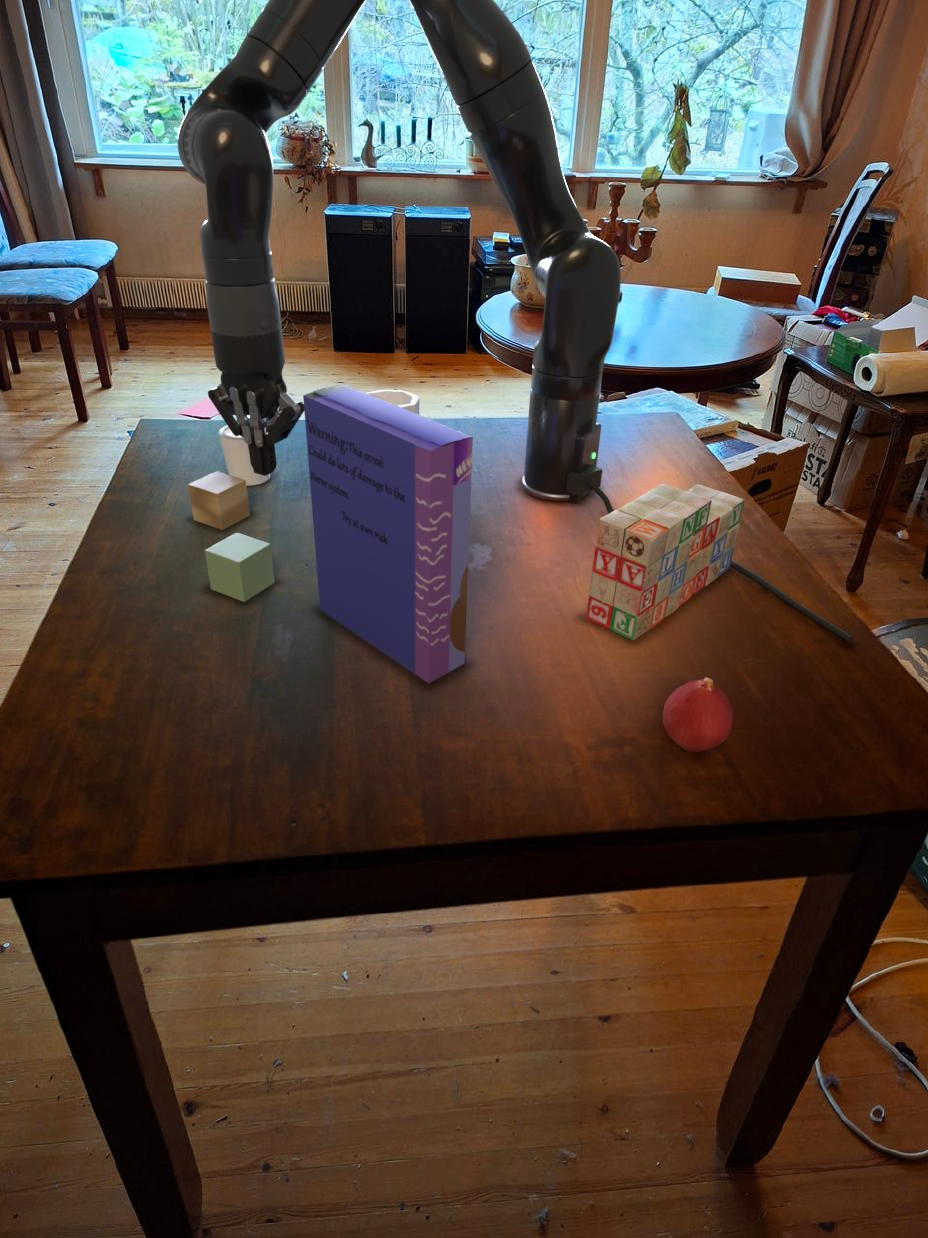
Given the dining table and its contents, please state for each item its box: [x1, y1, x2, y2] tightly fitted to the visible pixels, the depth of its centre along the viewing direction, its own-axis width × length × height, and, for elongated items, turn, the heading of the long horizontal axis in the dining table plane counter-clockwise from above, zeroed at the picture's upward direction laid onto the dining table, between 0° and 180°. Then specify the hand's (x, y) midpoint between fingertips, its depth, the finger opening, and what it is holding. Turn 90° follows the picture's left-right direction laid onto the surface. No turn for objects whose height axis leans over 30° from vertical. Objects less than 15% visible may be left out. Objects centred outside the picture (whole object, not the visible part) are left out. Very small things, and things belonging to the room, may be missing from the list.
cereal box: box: [302, 384, 474, 686], centre depth 79 cm, size 17×5×24 cm, turn 44°
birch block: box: [187, 470, 251, 531], centre depth 106 cm, size 5×5×5 cm
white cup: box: [218, 424, 271, 487], centre depth 116 cm, size 7×7×7 cm
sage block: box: [204, 532, 275, 603], centre depth 92 cm, size 5×5×5 cm
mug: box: [365, 389, 420, 415], centre depth 119 cm, size 12×9×10 cm
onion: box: [662, 677, 734, 753], centre depth 71 cm, size 6×6×8 cm
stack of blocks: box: [585, 482, 746, 642], centre depth 92 cm, size 21×6×12 cm, turn 138°
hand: (264, 472), depth 99 cm, fingers closed
